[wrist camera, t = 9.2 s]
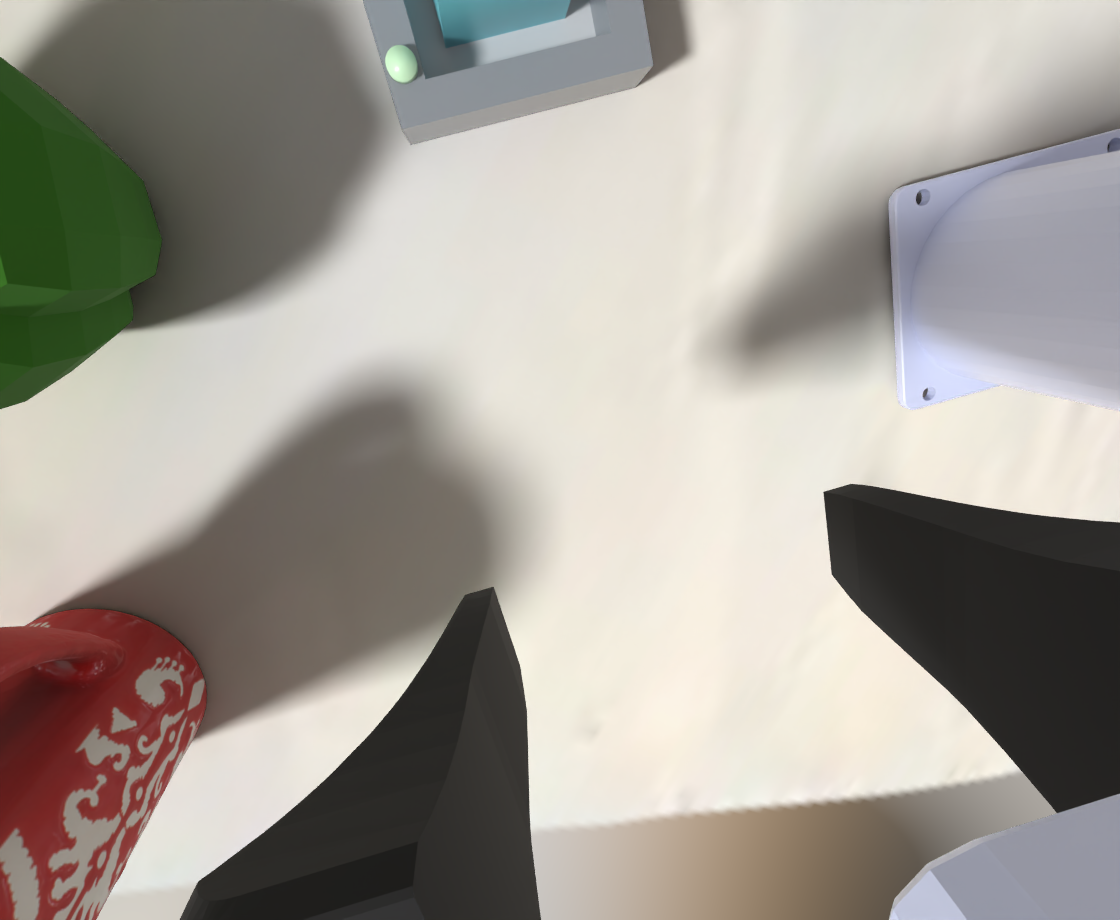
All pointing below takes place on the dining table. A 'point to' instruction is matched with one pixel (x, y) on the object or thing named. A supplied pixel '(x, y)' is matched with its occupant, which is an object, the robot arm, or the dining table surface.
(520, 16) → the plug
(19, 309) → the bell pepper
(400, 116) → the port
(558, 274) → the dining table surface
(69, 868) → the mug
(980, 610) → the robot arm
